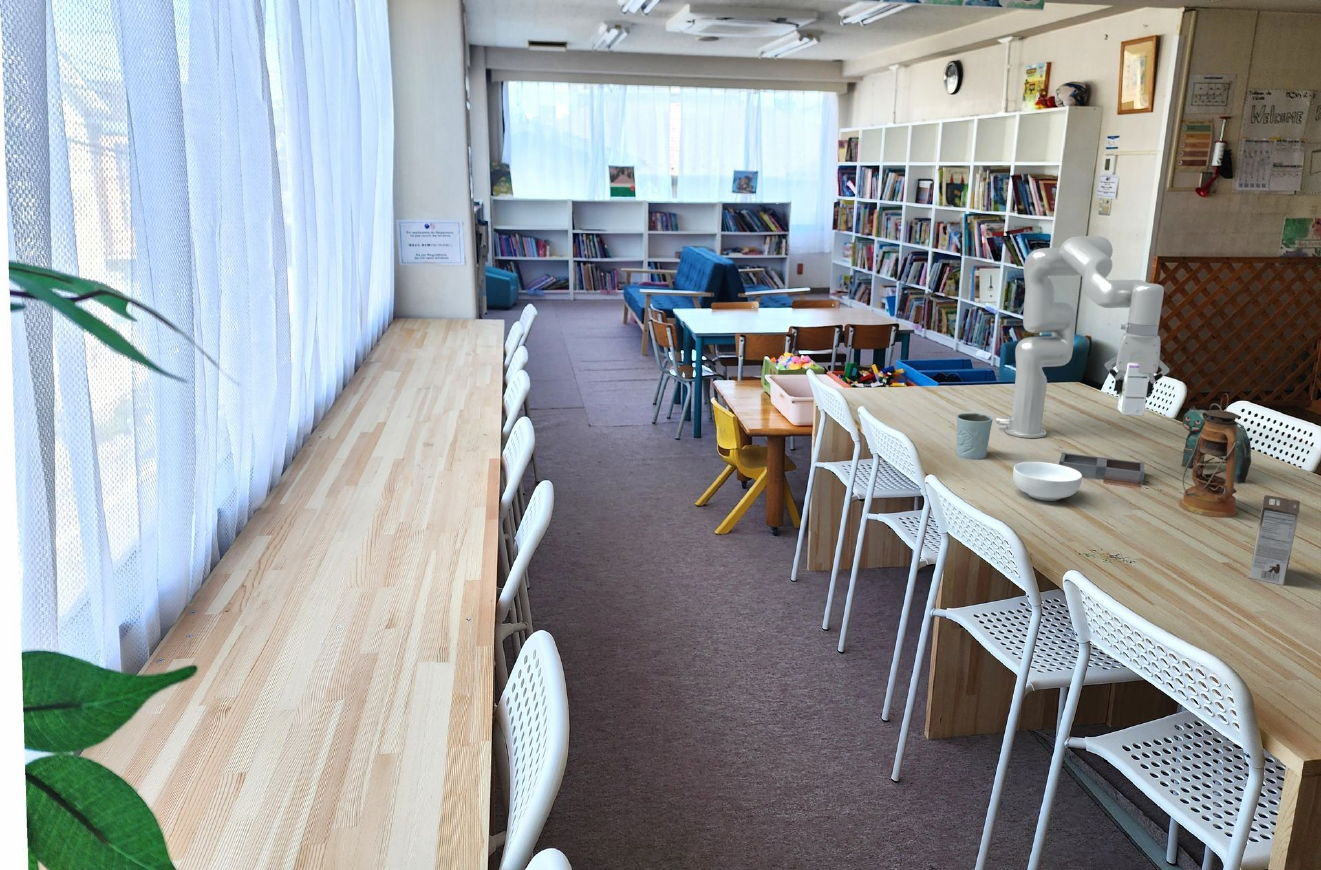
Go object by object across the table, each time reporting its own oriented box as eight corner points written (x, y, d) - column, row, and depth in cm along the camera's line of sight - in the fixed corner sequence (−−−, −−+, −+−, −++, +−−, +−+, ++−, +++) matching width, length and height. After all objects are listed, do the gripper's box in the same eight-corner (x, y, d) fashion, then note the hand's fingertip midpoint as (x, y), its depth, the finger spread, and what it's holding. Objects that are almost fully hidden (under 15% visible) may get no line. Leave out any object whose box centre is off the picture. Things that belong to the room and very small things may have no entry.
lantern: (1253, 520, 229) (1275, 401, 221) (1199, 519, 229) (1220, 401, 221) (1214, 497, 245) (1234, 386, 237) (1165, 496, 246) (1183, 385, 237)
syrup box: (1144, 416, 253) (1152, 363, 249) (1120, 415, 254) (1128, 362, 250) (1138, 411, 259) (1146, 359, 255) (1115, 410, 260) (1123, 358, 256)
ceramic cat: (1173, 464, 273) (1184, 398, 268) (1189, 462, 275) (1200, 396, 270) (1236, 485, 255) (1249, 414, 250) (1252, 482, 258) (1265, 412, 252)
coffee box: (1251, 564, 203) (1264, 494, 199) (1286, 571, 200) (1300, 500, 195) (1248, 578, 196) (1262, 505, 192) (1284, 585, 193) (1299, 512, 188)
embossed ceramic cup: (990, 453, 283) (994, 415, 280) (986, 462, 274) (990, 422, 271) (955, 449, 287) (959, 411, 284) (950, 457, 278) (954, 418, 275)
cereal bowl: (1072, 511, 234) (1076, 484, 233) (1004, 499, 243) (1007, 473, 241) (1083, 492, 248) (1087, 467, 246) (1018, 481, 257) (1021, 457, 255)
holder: (1056, 477, 261) (1058, 465, 260) (1060, 464, 273) (1061, 452, 272) (1142, 488, 252) (1144, 476, 251) (1142, 474, 264) (1144, 462, 263)
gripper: (1106, 329, 251) (1097, 394, 256) (1179, 335, 243) (1168, 401, 248) (1107, 325, 257) (1098, 389, 262) (1178, 330, 250) (1167, 395, 255)
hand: (1132, 394), depth 255 cm, fingers closed on syrup box, 6 cm apart
